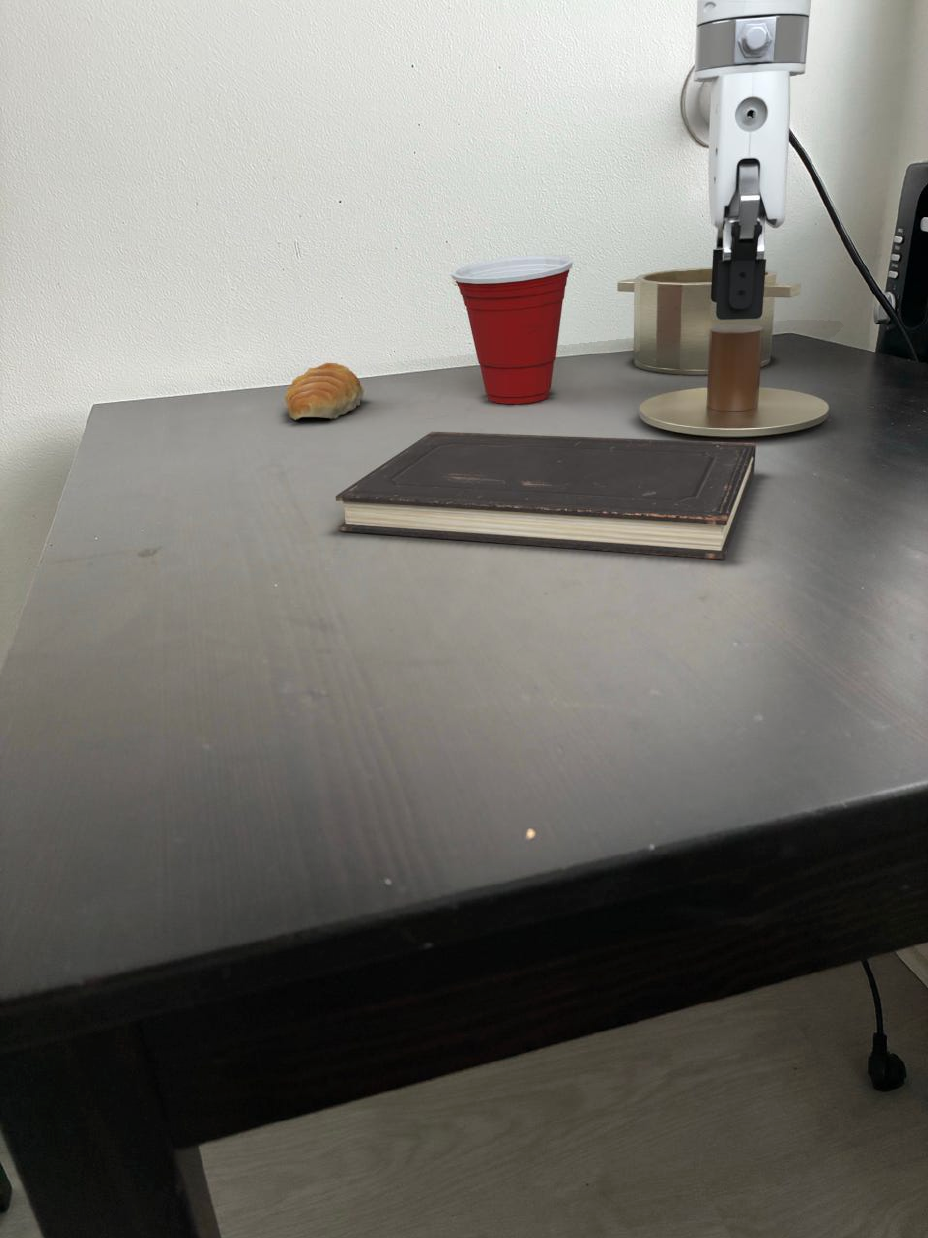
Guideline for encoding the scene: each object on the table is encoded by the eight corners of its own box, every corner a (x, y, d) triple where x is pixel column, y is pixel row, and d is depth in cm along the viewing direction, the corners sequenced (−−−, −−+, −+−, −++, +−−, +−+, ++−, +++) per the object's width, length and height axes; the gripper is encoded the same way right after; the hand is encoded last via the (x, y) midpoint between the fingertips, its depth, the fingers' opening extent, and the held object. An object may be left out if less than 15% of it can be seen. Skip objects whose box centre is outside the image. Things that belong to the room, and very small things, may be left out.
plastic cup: (434, 404, 92) (424, 267, 87) (507, 381, 99) (502, 254, 94) (528, 416, 85) (523, 269, 80) (598, 391, 92) (598, 254, 87)
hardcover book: (724, 560, 53) (726, 519, 52) (339, 531, 61) (335, 495, 60) (754, 474, 67) (756, 440, 66) (436, 459, 74) (434, 429, 73)
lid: (694, 394, 89) (697, 310, 86) (856, 410, 80) (866, 318, 77) (604, 430, 79) (604, 337, 76) (778, 454, 71) (785, 350, 68)
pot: (655, 344, 113) (656, 265, 109) (818, 356, 101) (825, 268, 98) (587, 366, 104) (586, 280, 100) (758, 381, 92) (764, 285, 89)
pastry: (347, 423, 87) (342, 379, 85) (272, 427, 87) (266, 383, 86) (367, 399, 95) (363, 359, 94) (298, 403, 96) (293, 362, 94)
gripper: (824, 36, 61) (799, 325, 68) (792, 60, 76) (774, 294, 83) (698, 45, 62) (686, 327, 69) (692, 67, 78) (683, 296, 85)
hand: (734, 309), depth 76 cm, fingers open, 9 cm apart
